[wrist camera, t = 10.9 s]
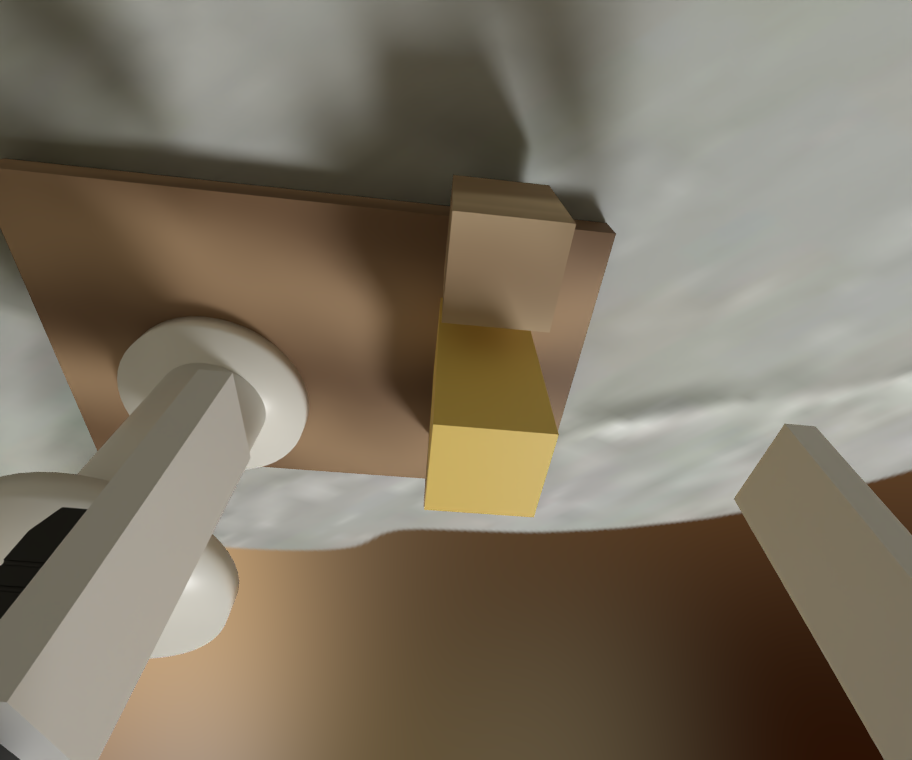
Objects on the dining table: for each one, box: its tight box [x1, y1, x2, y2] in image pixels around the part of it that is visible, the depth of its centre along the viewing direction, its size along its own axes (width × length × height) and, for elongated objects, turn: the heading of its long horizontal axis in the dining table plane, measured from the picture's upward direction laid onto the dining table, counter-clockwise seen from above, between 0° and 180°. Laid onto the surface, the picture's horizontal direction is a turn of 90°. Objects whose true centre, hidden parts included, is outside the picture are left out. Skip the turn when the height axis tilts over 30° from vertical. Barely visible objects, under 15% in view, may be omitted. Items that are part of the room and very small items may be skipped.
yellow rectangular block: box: [424, 298, 559, 517], centre depth 15 cm, size 3×3×7 cm
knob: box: [0, 316, 309, 658], centre depth 16 cm, size 7×7×9 cm
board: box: [0, 159, 616, 507], centre depth 17 cm, size 13×20×5 cm, turn 84°
